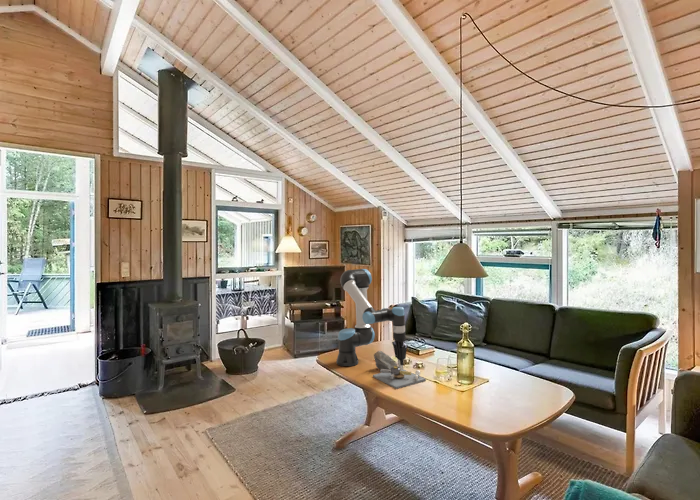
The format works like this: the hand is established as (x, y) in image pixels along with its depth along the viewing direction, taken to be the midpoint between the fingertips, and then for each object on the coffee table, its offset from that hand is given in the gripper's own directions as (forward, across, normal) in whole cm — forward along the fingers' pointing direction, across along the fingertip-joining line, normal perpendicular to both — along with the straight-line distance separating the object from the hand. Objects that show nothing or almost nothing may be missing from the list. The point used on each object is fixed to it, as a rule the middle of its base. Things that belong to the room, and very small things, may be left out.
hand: (400, 369), depth 241 cm
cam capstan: (+3, +2, -5) cm, 6 cm away
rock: (+4, -16, 0) cm, 16 cm away
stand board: (+4, +2, -4) cm, 6 cm away
